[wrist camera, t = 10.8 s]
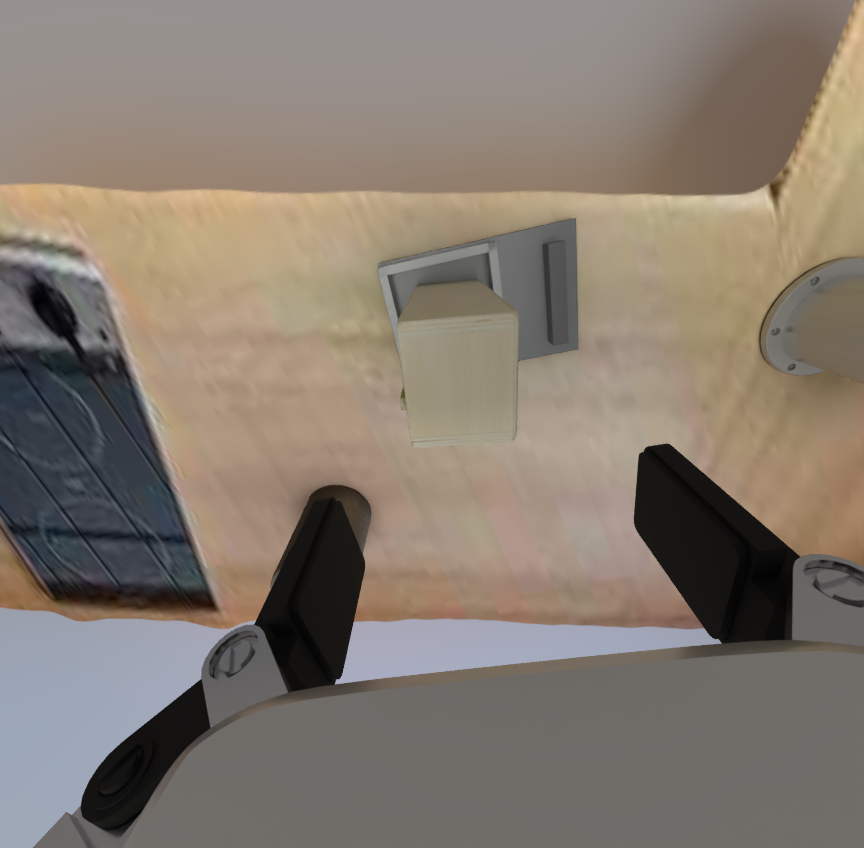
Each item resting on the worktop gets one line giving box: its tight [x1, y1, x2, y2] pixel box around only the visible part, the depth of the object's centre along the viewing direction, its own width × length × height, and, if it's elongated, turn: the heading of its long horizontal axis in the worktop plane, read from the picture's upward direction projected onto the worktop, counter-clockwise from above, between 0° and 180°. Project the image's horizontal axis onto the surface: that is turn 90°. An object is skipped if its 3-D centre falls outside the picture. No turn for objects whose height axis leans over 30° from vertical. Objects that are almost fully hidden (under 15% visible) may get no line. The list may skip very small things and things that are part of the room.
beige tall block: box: [397, 279, 519, 448], centre depth 29 cm, size 8×7×21 cm
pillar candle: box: [271, 486, 371, 588], centre depth 46 cm, size 10×10×15 cm
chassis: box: [377, 218, 578, 361], centre depth 38 cm, size 20×13×4 cm, turn 102°
